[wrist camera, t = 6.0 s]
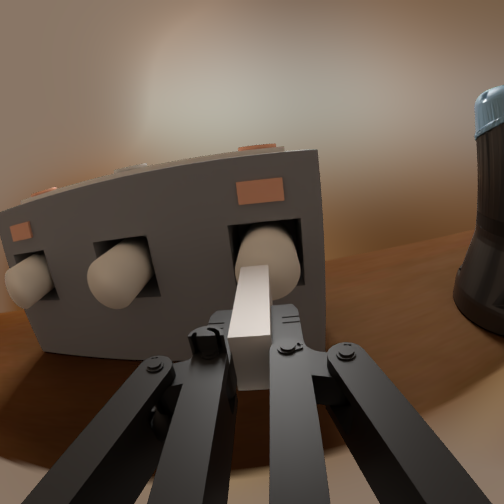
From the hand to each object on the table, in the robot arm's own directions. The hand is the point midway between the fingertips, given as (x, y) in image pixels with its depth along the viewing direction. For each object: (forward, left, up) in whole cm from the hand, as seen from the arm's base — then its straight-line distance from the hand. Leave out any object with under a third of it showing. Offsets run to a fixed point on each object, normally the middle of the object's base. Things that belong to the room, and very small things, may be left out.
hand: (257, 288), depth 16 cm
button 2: (-1, -5, -2) cm, 5 cm away
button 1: (+21, -5, -2) cm, 22 cm away
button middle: (+10, -5, -2) cm, 12 cm away
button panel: (+10, -9, -9) cm, 16 cm away
